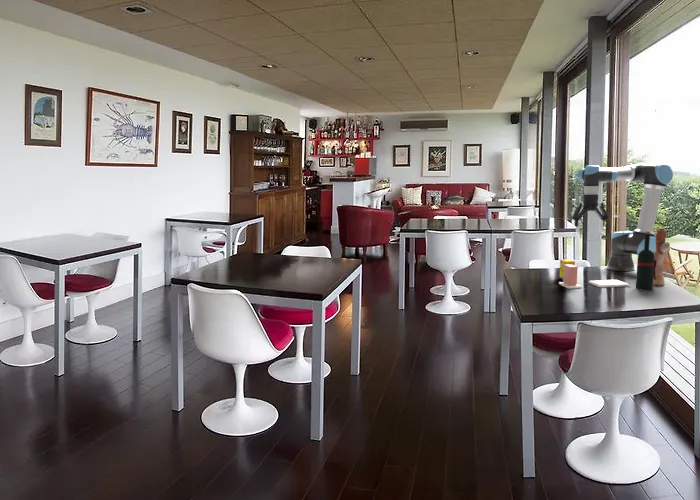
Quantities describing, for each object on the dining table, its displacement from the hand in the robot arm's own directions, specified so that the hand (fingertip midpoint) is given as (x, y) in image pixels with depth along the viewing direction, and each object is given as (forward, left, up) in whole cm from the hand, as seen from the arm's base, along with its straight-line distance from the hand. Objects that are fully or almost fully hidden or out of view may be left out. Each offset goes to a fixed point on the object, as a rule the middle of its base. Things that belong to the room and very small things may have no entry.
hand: (589, 232), depth 320 cm
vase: (-29, +20, -27) cm, 44 cm away
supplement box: (+11, -2, -27) cm, 29 cm away
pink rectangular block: (+18, +15, -27) cm, 36 cm away
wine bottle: (-17, +28, -27) cm, 42 cm away
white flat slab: (-4, +15, -27) cm, 31 cm away
